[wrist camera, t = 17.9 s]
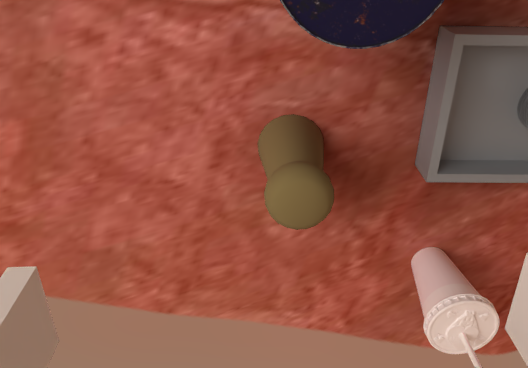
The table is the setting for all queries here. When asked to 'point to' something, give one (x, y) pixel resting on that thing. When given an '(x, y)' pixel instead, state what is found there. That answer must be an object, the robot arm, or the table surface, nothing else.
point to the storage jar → (360, 19)
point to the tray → (476, 107)
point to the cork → (295, 172)
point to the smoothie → (452, 306)
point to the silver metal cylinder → (523, 108)
